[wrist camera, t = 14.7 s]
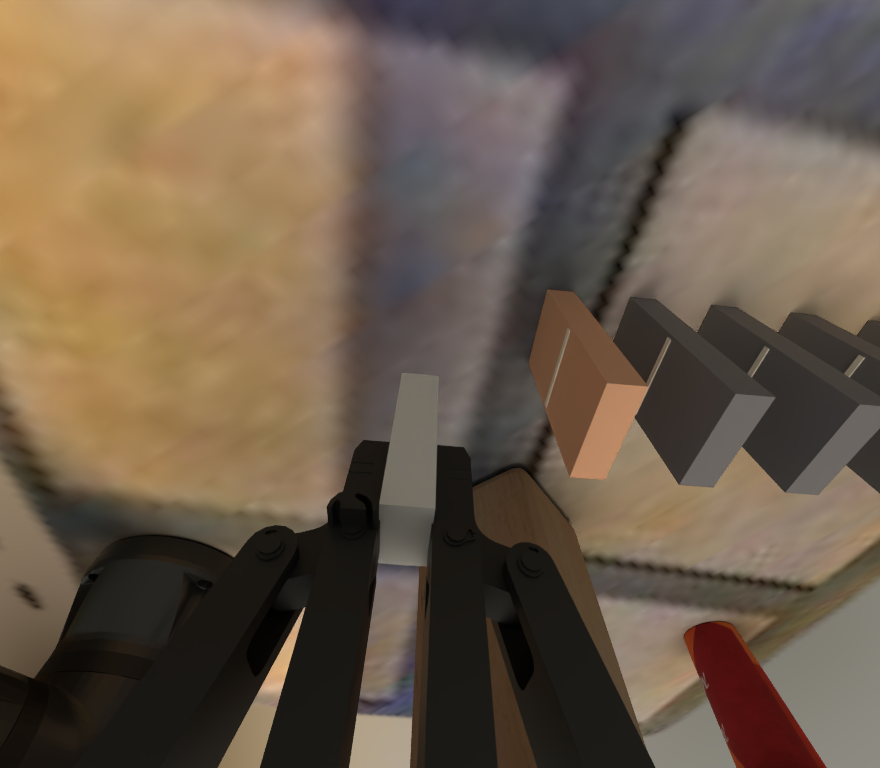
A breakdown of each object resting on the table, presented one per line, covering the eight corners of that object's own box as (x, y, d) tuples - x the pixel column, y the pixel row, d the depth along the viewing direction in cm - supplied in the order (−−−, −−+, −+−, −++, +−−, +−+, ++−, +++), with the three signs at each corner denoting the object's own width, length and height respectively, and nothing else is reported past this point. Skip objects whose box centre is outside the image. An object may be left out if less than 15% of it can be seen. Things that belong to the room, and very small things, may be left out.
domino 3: (746, 381, 27) (886, 499, 18) (790, 312, 24) (977, 414, 16) (770, 383, 27) (920, 502, 18) (816, 315, 24) (1017, 417, 16)
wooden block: (417, 507, 34) (394, 885, 17) (520, 458, 30) (618, 862, 14) (479, 563, 38) (510, 905, 21) (575, 525, 35) (698, 892, 18)
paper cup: (659, 641, 47) (732, 814, 35) (706, 610, 43) (806, 793, 31) (711, 653, 48) (798, 821, 37) (761, 624, 44) (875, 802, 33)
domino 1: (602, 369, 26) (677, 484, 18) (629, 297, 23) (734, 393, 15) (627, 371, 26) (714, 487, 18) (657, 299, 23) (777, 397, 15)
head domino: (574, 291, 23) (650, 386, 15) (553, 364, 26) (606, 479, 18) (546, 289, 23) (605, 382, 15) (527, 362, 26) (568, 477, 17)
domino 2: (675, 375, 26) (783, 492, 18) (710, 305, 24) (858, 404, 15) (699, 377, 26) (819, 495, 18) (737, 307, 24) (900, 407, 15)
